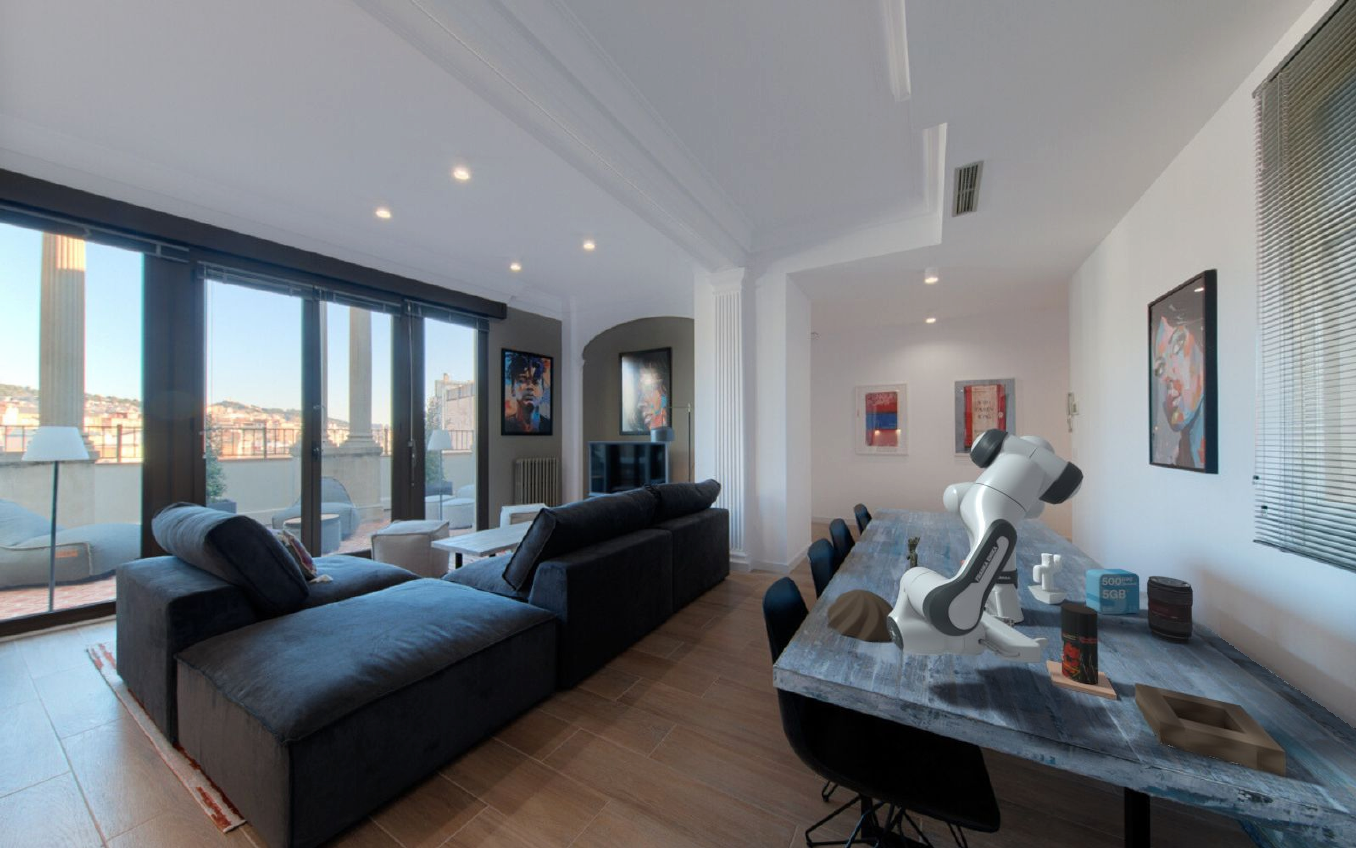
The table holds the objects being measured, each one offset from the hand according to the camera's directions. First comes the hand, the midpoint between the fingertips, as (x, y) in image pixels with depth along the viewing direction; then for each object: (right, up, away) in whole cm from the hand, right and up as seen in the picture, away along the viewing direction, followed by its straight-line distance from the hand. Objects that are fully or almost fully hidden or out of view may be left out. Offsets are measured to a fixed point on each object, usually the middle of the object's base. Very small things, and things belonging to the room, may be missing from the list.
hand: (1028, 631), depth 98 cm
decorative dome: (-24, -12, +29) cm, 39 cm away
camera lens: (+52, -11, +19) cm, 57 cm away
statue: (-1, -11, +47) cm, 49 cm away
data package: (+54, -11, +36) cm, 65 cm away
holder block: (+18, -11, -17) cm, 27 cm away
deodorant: (+11, -10, 0) cm, 15 cm away
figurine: (+41, -11, +44) cm, 61 cm away
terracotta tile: (+11, -11, 0) cm, 16 cm away
